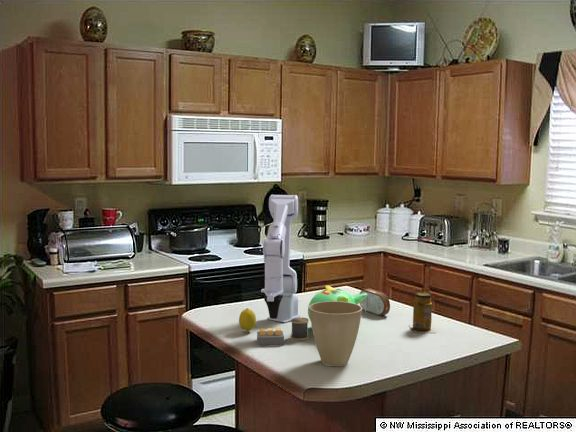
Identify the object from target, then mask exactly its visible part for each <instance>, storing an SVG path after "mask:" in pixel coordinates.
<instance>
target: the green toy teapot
mask: <svg viewBox="0 0 576 432" xmlns="http://www.w3.org/2000/svg"><path fill="white" fill-rule="evenodd" d="M324 287H325V289H323V290H320V291H319V292H317V293H316V294H314V295H313V297H312V298H311V300H310V301H309V303H308V308H307V317H308V320H309V322H311V318H310V310H309V306H310V305H312V304H314V303H318V302H326V301H340V302H349V303H354V304H357V305H360V302H361V301H362V300H364V299H365V298H366V297H367V294H366V293H363V294H360V293H359V294H353V295H352V294H351V293H350V292H348V291H345V290H343V289H341V288H335V287H332V286H330V285H325V286H324Z"/></svg>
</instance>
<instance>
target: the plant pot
mask: <svg viewBox="0 0 576 432" xmlns="http://www.w3.org/2000/svg"><path fill="white" fill-rule="evenodd" d="M308 306H309V305H308ZM309 310H310V318H311V321H310V323H311V330H312V333H313V338H314V343H315V345H316V349H317V351H318V355H319V359H320V360H321V363H322V364H323V365H326V366H329V367H343V366H346V365H348V363H349V360H350V358H351V356H352V353H353V350H354V348H355V344H356V341H357V337H358V334H359V328H360V325H361V318H362V313H363V309H362V307H361V305H360V304H358V305H357V304H354V303H349V302H340V301H326V302H318V303H314V304H312V305H310V306H309Z"/></svg>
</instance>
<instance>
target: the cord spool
mask: <svg viewBox="0 0 576 432" xmlns="http://www.w3.org/2000/svg"><path fill="white" fill-rule="evenodd" d="M309 322H310V319H309V318H307V317H303V316H300V317H296V318H292V319H291V321H290V323H291V334H290V339H291V340H292V341H297V342H298V341H299V342H300V341H303V342H304V341H307V340H308V339H309V335H308V325H309Z"/></svg>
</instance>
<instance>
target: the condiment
mask: <svg viewBox="0 0 576 432" xmlns="http://www.w3.org/2000/svg"><path fill="white" fill-rule="evenodd" d="M412 309H413V310H412V313H413V314H412V324H410V325H409V324H408V327H409V328H410V329H411V330H412V331H413V333H417V334H431V333H432V334H436V333H437V332H436V331H435V330H434V329H433V328H432V321H433V320H432V319H433V318H432V317H433V316H432V313H433V312H432V310H433V303H432V295H431V294H430V293H428V292H417V293H415V294H414V301H413V308H412Z"/></svg>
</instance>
